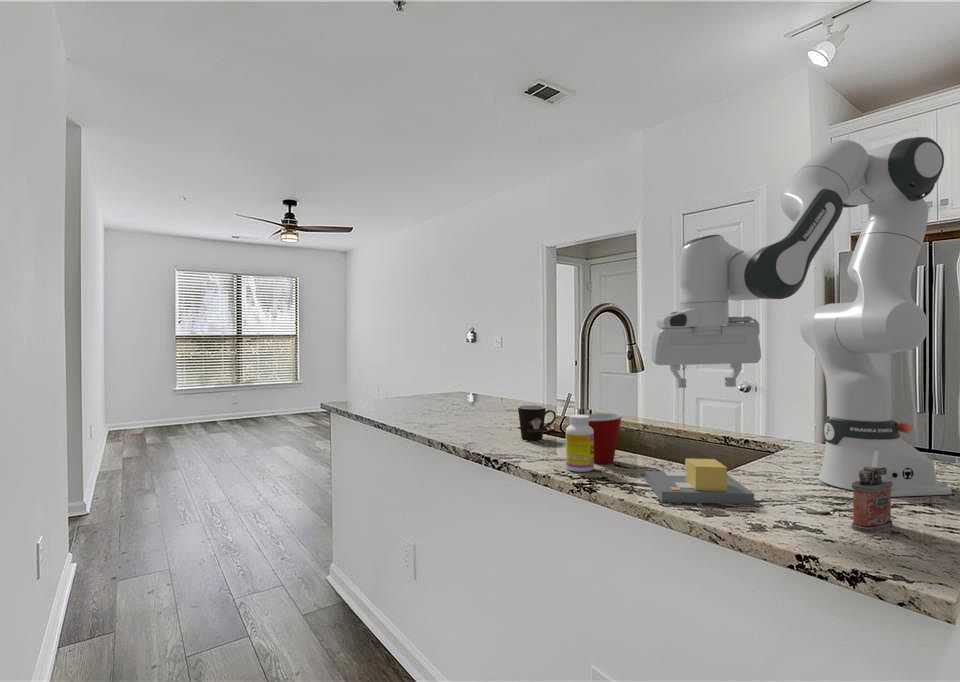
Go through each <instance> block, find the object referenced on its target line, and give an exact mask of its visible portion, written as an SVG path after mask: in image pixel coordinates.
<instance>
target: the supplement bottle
mask: <svg viewBox="0 0 960 682" xmlns="http://www.w3.org/2000/svg"><path fill="white" fill-rule="evenodd" d="M587 415H588V414H571V415H570V416H569V423H570V424H569V425H568V426H567V427H566V429H565V468H566V469H567V470H569V471H571V472H575V473H588V472H592V471H593V470H594V469H595V463H594V431H593V428H592V427H590V426H589V421H590V417H589V416H587Z"/></svg>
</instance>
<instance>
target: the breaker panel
mask: <svg viewBox="0 0 960 682" xmlns="http://www.w3.org/2000/svg"><path fill="white" fill-rule="evenodd" d="M644 480H645V482H646V483H647V485H648V486H649V487H650V488H651V490H652V491H653V493H654V494H655V495H656V497H657V498H658V499H659V500H660V501H661V503H683V504H684V503H687V504H688V503H689V504H724V505H725V504H727V505H728V504H730V505H731V504H732V505H733V504H734V505H736V504H737V505H755V493H754V492H752V491H751V490H750V489H748V488H747V487H746V486H744V485H743V484H741V483H740V482H738V481H737V480H735V479H734V478H733V477H731V476H730V475H729V474H727V491H706V490H695V489H694V488H693V487H692V486H691V485H690V484H689V483H688V482H687V481H686V471H675V470H674V471H671V470H670V471H665V470H663V471H660V470H659V471H653V470H652V471H651V470H650V471H649V470H645V471H644Z"/></svg>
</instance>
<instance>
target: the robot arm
mask: <svg viewBox="0 0 960 682" xmlns="http://www.w3.org/2000/svg"><path fill="white" fill-rule="evenodd" d="M944 165H945V155H944V152H943V150H942V147H941V146H940V145H939V144H938V143H937V142H936V141H935V140H934V139H932V138H930V137H928V136H927V137H926V136H916V137H909V138H904V139H901V140H899V141H896V142H894V143H890V144H889V143H888V144H885V145H882V146H878V147H875V148H872V149H870V150H866V149H865V147H864V146H863V145H861V144H860V143H858V142H856V141H853V140H847V139H843V140H841V139H840V140H836V141H833V142H830V143H829V144H827V145H826V146H825V147H823V148H821V149H820V150H819V151H818V152H817V153H815V154H814V155H813V156H812V157H810V158H809V160H808V161H806V163H805V164H803V165H802V166H801V168H800V169H799V170H797V171H796V173H795V174H794V175H793V176H792V177H791V178H790V180H789V181H788V183H787V184H786V185H785V187H784V189H783V190H782V193H781V195H780V197H779V198H780V206H781V209H782V211H783V213H784V215H785V216H786V217H787V218H788V219H789V220H790V221H792V222H793V223H792V224H791V226H790V228H789V229H788V230H787V232H786V233H785V235H784V236H783V237H782V238H781V239H779V240H777V241H776V242H773V243H771V244H768V245H766V246H764V247H760V248H756V249H751V250H747V251H745V250H743V249H739V248H736V247H735V246H733V245H732V244H730V243H729V242H728V241H727V240H725V238H724V236H723V235H721V234H711V235H710V234H708V235H705V236H702V237H698V238H693V239H690V240H689V241H686V242H685V243H684V245H683V246H682V248H681V251H680V257H679V272H678V273H679V285H680V288H681V296H680V300H679V301H680V304H679V306H680V307H679V308H680V309H679V311H672V312H671V313H669V314H666V315H663V316H660V317H658V318H657V319H656V327H657V328H658V329H657V330H656V331H655V332H654V334H653V337H652V341H651V342H652V343H651V361H652V363H654V365H657V366H669V371H670V372H671V373H672V375H673V376H674V378H675V385H676V388H678V389H685V388H687V378H684V377H683V378H682V377H681V375H680V374H679V373H680V372H679V371H681V366H684V365H685V366H691V365H696V366H697V365H728V364H730V365H729V367H730V369H731V370H732V371H731V373H730V375H729V377H726V376H725V377H724V382H725V383H724V385H725V387H728V388H735V387H737V378H738V376H739V375H740V373H741V371H742V369H743V368H742V367H743V366H742V365H743V364H758V363H759V362H760V360H761V358H762V349H761V344H760V339H759V336H760V323H759V321H758V320H757V319H755V318H752V316H729V311H730V310H729V301H733V302H734V301H735V302H736V301H737V302H739V301H752V300H753V301H754V300H766V299H767V300H782V299H787V298H790V297H791V296H792V297H793V295H794V294H795V293H797V292H798V291H799V290H800V289H801V287H802V286H803V284H804V282H805V280H806V277H807V274H808V271H809V268H810V266H811V264H812V261H813V259H814V258H815V256H816V255H817V253H818V252H819V250H820V248H821V247H822V245H823V244H824V242H825V241H826V239H827V237H828V236H830V233H831V232H832V230H833V229H834V227H835V226H836V224H837V223H838V221H839V219H840V218H841V215H842V212H843V209H844V208H855V207H859V206H861V205H862V206H863V205H867V206H868V216H867V219H866V221H865V223H864V224H863V228H862V229H861V231H860V234H859V236H858V239H857V241H856V244H855V248H854V249H853V251H852V252H853V253H852V255H851V258H850V260H849V263H848V266H847V270H846V273H847V275H848V278H850V280H851V281H852V282H853V283H854V284H855V285H857V294H856V295H857V296H856V297H855V300H854V301H850V302H848V301H847V302H835V303H827V304H824V305H821V306H818V307H815V308H812V309H810V310H809V311H807V312H806V313H805V314H804V316H803V317H802V319H801V322H800V327H799V331H800V335H801V338H802V340H803V341H804V342H805V343H806V344H807V345H808V346H809V347H810V348H811V349H812V350H813V352H814V354H815V355H816V357H817V358H818V361H819V363H820V366H821V368H822V372H823V374H824V379H825V387H826V389H825V390H826V415H824V430H823V431H824V434H823V435H824V441H825V446H824V447H825V448H824V455H823V460H822V463H821V467H820V471H819V474H818V476H817V479H818V480H819V481H820V482H823V483H824V484H827V485H829V486H833V487H836V488H841V489H845V490H850V491H853V489H852V483H854V482H856V481H860V477H859V471H861V470H863V469H864V467H871V468H873V467H878V466H883V467H885V468H887V475H882V476H881V477H882V479H885V480H889V481H892V487H891V498H892V497H916V496H919V497H920V496H943V495H946V496H947V495H952V494H953V489H952V488H951V487H950V486H948V485H947V484H945V483H943V482H941V481H938V480H937V473H936V469H935V466H934V463H933V461H932V460H931V459H930V458H929V457H928V456H926V455H925V454H924V453H922V452H921V451H919V450H918V449H916V448H915V447H914V446H913V445H912V444H911V445H910V444H909V443H908V442H906V441H905V440H904V439H903V438H901V433H904V434H911V433H912V432H913V430H914V428H913V426H912V424H910V423H907V422H903V421H902V422H899V423H898V422H897V421H895V420H893V419H892V416H891V415H892V387H891V383H890V381H889V379H888V378H887V377H885V376H884V375H883V374H882V373H881V372H879V371H878V369H876V368H875V366H874V365H873V362H872V359H871V356H870V354H875V355H877V354H880V355H882V354H884V355H887V354H888V355H890V354H896V353H901V352H906V351H911V350H914V349H916V348H918V347H919V346H920V345H921V344H922V343H924V341H925V338H926V337H927V334H928V331H929V321H928V317H927V315H926V313H925V312H924V310H923V309H922V308H921V307H920V305H918V304H916V302H915V301H914V299H913V297H912V293H911V279H912V277H913V273H914V270H915V266H916V264H917V259H918V257H919V254H920V252H921V249H922V245H923V244H924V239H925V237H926V231H927V228H928V227H927V226H928V220H929V219H928V218H929V210H930V209H929V205H928V203H927V201H926V200H925V199H924V198H925V197H927V196H928V195H930V194H931V193H932V191H933V190H934V188H935V186H936V184H937V182H938V180H939V179H940V176H941V174H942V172H943V168H944Z"/></svg>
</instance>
